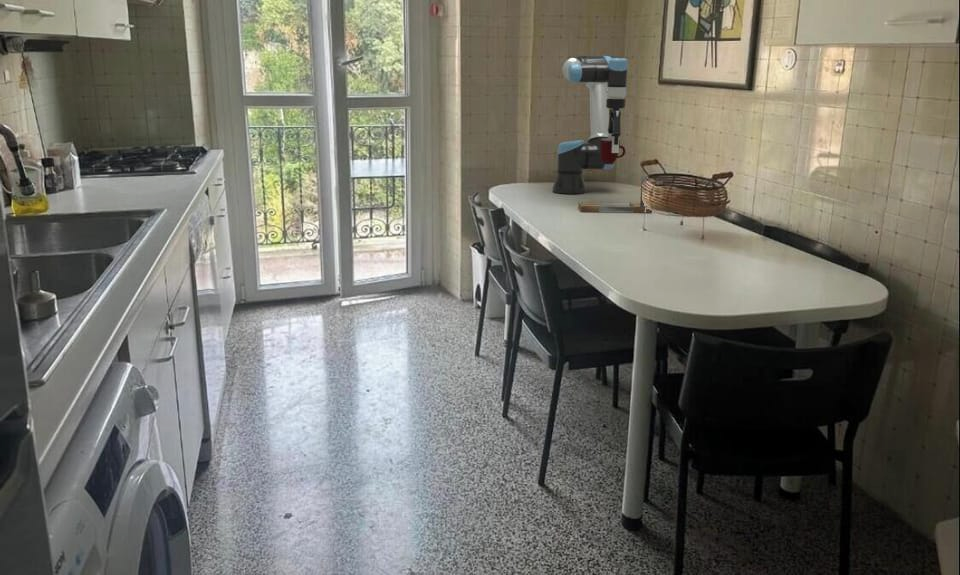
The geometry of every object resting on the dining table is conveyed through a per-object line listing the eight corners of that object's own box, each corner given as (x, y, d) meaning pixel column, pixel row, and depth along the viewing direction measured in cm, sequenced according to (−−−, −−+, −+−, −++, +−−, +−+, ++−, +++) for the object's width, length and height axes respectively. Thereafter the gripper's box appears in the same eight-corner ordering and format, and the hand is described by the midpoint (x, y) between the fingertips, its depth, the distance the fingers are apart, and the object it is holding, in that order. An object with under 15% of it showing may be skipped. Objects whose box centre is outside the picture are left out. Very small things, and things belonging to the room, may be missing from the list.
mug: (620, 161, 307) (622, 137, 304) (626, 165, 300) (628, 140, 296) (596, 162, 306) (598, 138, 303) (602, 165, 298) (603, 141, 295)
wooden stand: (578, 207, 299) (579, 172, 296) (646, 208, 298) (648, 173, 294) (581, 212, 286) (582, 175, 283) (652, 213, 285) (654, 176, 282)
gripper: (603, 97, 305) (600, 147, 311) (610, 99, 281) (607, 154, 287) (620, 97, 305) (617, 148, 311) (630, 99, 281) (626, 154, 287)
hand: (612, 151), depth 299 cm, fingers open, 13 cm apart
